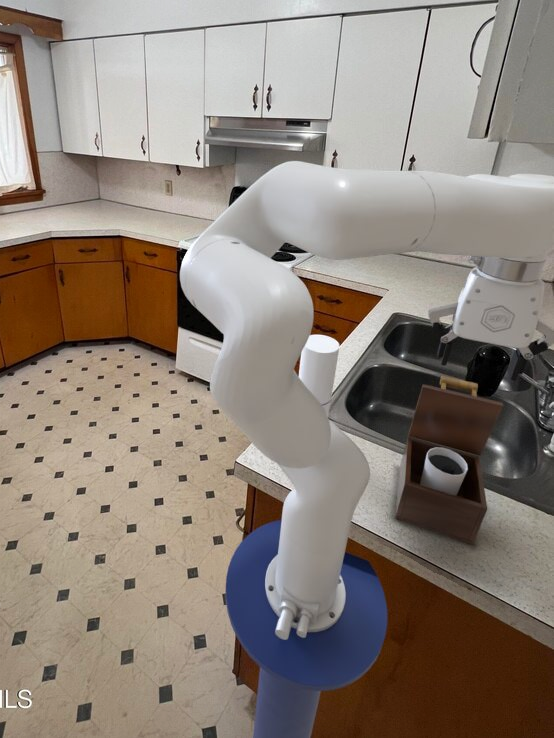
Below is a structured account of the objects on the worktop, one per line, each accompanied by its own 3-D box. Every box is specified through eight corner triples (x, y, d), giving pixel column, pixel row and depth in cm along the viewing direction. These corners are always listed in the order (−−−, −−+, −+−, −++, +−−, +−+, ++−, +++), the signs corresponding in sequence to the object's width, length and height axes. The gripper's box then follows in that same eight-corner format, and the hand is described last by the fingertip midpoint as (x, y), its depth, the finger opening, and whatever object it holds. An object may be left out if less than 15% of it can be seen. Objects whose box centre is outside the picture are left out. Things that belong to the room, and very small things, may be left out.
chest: (472, 545, 72) (487, 509, 69) (395, 518, 77) (404, 483, 73) (467, 490, 83) (479, 456, 79) (399, 469, 87) (407, 436, 84)
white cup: (456, 497, 80) (470, 457, 76) (450, 522, 75) (465, 482, 71) (419, 480, 84) (430, 442, 79) (411, 504, 79) (423, 464, 74)
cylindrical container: (321, 456, 90) (337, 355, 79) (288, 447, 92) (299, 348, 81) (325, 434, 96) (341, 338, 86) (294, 426, 98) (305, 332, 88)
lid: (503, 405, 71) (500, 381, 76) (422, 386, 76) (424, 365, 80) (480, 456, 79) (478, 431, 83) (408, 436, 83) (410, 413, 88)
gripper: (443, 265, 60) (417, 367, 67) (592, 286, 54) (546, 396, 61) (441, 250, 66) (418, 345, 73) (575, 267, 60) (535, 369, 67)
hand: (476, 368), depth 67 cm, fingers open, 9 cm apart
